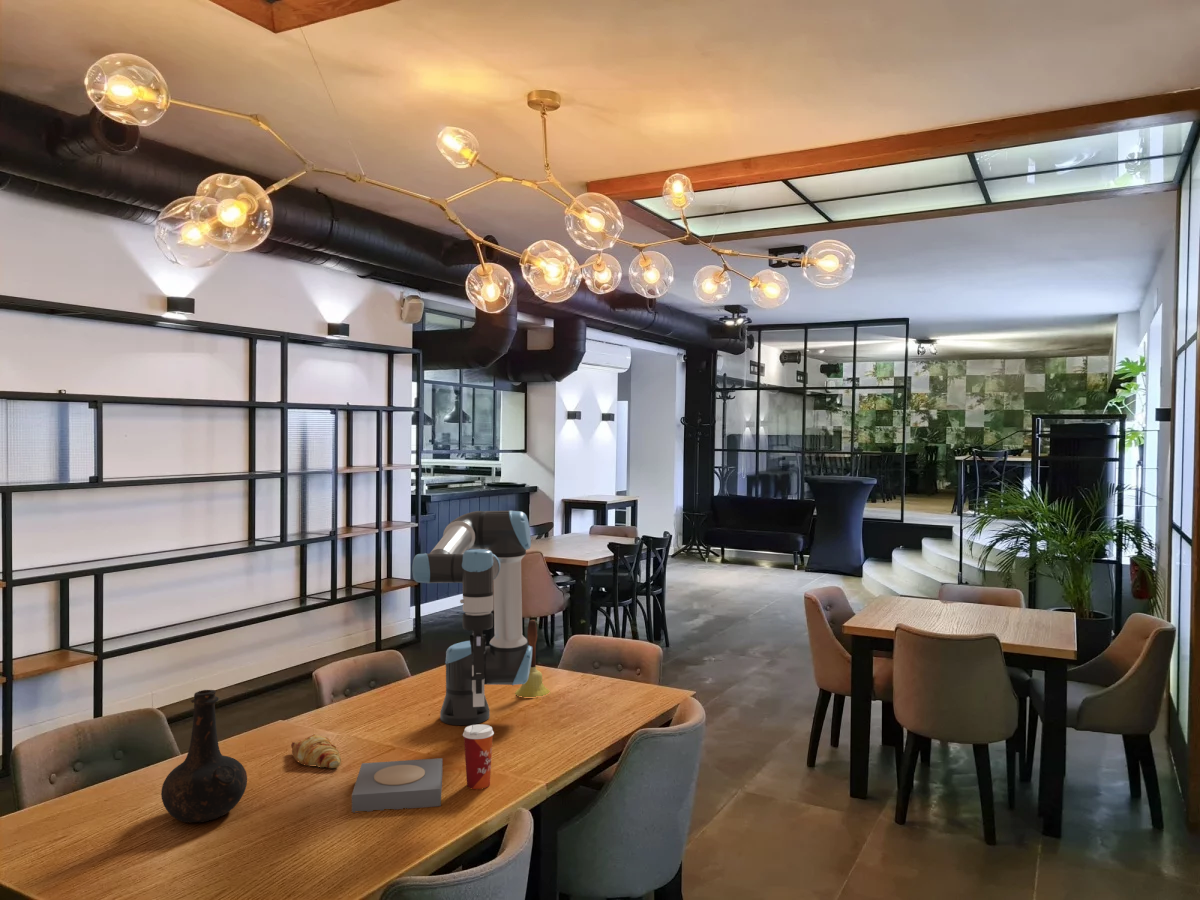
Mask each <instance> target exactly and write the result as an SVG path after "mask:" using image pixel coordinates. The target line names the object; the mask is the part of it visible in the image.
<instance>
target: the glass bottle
mask: <svg viewBox="0 0 1200 900" xmlns="http://www.w3.org/2000/svg"><path fill="white" fill-rule="evenodd" d="M216 693H217V691H216V690H214V689H203V690H202V689H201V690H198V691H196V692H195V693H194V694H193V698H194V699H192V700H190V702H191V703H193V719H192V727H191V728H192V729H191V735H190V742H189V747H188V750H187V751H188V752H187V756H186V757H185V759H184V760H183V762H182V763H180V764H178V765H177V766H175V767H174V768H173V769H172V770H171V771H170V772H169V773H168V775H167V776H166V778H165V779H164V781H163V784H162V786H161V801H162V804H163V806H164V808H165V810H166V812H168V814H169V815H171V816H172V817H173V818H174V819H176V820H178V821H180V822H184V823H188V822H199V823H205V822H208V821H209V820H210V821H212V820H216V819H218V817H219V818H221V817H223V816H225V815H226V814H228V813H229V812H231V811H232V810H233V809H234V808H235V807H236V806H237V805H238V803H239V802H240V800H241V799H242V797H243V796H244V794H245V791H246V789H247V785H248V774H247V771H246V769H245V767H244V765H243V763H241V762H240V761H239V760H237V759H235V758H234V757H231V756H227V755H223V754H222V753H221V751H220V746H219V740H218V732H217V717H216V706H215V705H216V703H217V702H218V701H219V699H220V698H219V697H218V696H216ZM220 816H221V817H220ZM204 821H205V822H204ZM210 821H209V822H210Z"/></svg>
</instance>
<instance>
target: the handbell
mask: <svg viewBox="0 0 1200 900" xmlns="http://www.w3.org/2000/svg"><path fill="white" fill-rule="evenodd" d="M526 639H527V643H528V646H532V660H531V667H530V673H529V678H528V680H527V682H526V683H525V684H521V686H520V687H519V688H518V689H517V690H516V691H515V693H514V695H515V694H516V695H518V696H522V697H536V696H543V695H546V694H548V693H549V692H550V693H551V690H550V689H549V688H547V687H546V686H545V685H544V683H543V674H542V671H540V670H538V669H537V665H536V664H537V663H536V661H537V660H536V657H537V656H536V653H537V652H536V648H537V647H536V645H537V641H538V626H537V622H536V620H535V619H531V620H528V625H527V637H526Z"/></svg>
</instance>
